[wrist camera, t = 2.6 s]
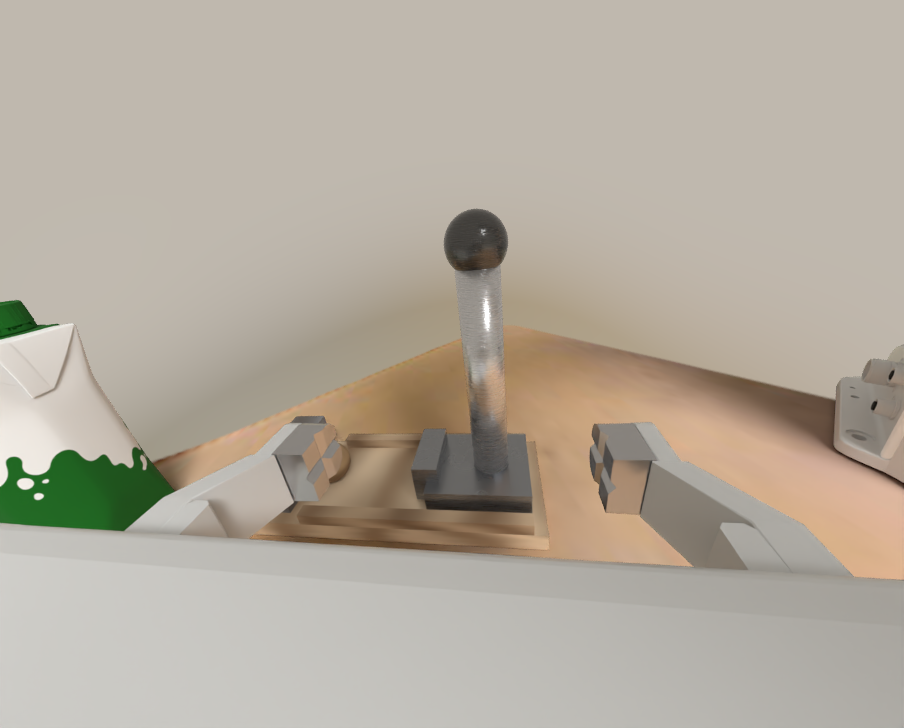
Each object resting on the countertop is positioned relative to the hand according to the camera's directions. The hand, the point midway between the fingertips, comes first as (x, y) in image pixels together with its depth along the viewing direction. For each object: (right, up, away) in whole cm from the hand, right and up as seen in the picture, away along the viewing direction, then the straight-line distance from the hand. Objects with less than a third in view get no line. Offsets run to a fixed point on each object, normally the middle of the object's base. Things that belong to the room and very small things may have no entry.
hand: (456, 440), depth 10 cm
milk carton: (-30, -13, +18) cm, 38 cm away
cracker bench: (-4, -9, +19) cm, 22 cm away
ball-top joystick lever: (+2, -7, +17) cm, 19 cm away
